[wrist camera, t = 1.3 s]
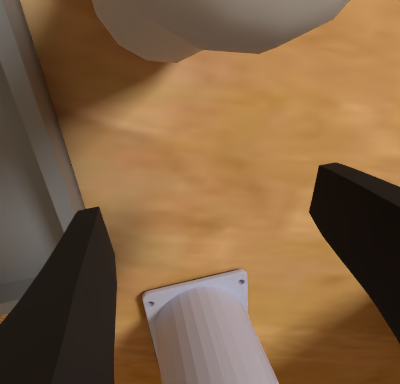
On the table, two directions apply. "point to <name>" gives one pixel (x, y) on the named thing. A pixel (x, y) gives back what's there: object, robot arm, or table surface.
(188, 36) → the salt shaker
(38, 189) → the tray
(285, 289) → the table surface
